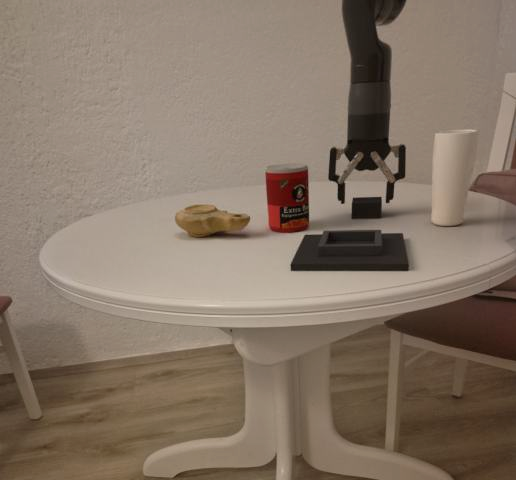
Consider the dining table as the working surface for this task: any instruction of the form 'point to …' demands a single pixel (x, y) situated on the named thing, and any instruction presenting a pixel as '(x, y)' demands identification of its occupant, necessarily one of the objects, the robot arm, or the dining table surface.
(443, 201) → the drinking glass
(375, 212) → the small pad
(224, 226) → the oil lamp
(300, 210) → the canned food
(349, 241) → the base pad
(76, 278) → the dining table surface
